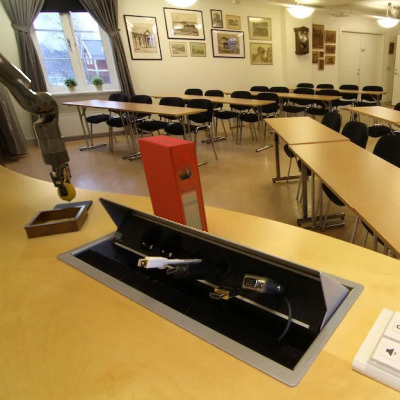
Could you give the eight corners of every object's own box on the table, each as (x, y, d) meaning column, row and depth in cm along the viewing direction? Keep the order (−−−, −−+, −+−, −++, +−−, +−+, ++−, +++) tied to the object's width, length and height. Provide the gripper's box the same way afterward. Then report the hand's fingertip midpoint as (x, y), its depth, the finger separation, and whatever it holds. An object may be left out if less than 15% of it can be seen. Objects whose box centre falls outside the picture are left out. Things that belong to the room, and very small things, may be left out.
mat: (49, 216, 118) (48, 214, 118) (57, 206, 127) (56, 204, 126) (87, 211, 123) (86, 209, 122) (92, 202, 131) (92, 200, 131)
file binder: (186, 251, 96) (168, 146, 84) (157, 234, 106) (137, 138, 94) (209, 241, 102) (195, 141, 90) (180, 226, 112) (163, 134, 100)
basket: (27, 238, 103) (23, 227, 102) (42, 220, 115) (39, 211, 114) (79, 230, 108) (76, 220, 107) (88, 214, 120) (85, 205, 119)
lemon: (57, 203, 122) (50, 183, 119) (70, 198, 127) (65, 179, 124) (68, 205, 121) (62, 185, 118) (82, 199, 126) (76, 180, 123)
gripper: (47, 146, 121) (60, 188, 127) (33, 155, 109) (49, 201, 115) (71, 145, 124) (83, 186, 130) (60, 153, 111) (74, 198, 118)
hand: (67, 193), depth 122 cm, fingers closed on lemon, 5 cm apart
